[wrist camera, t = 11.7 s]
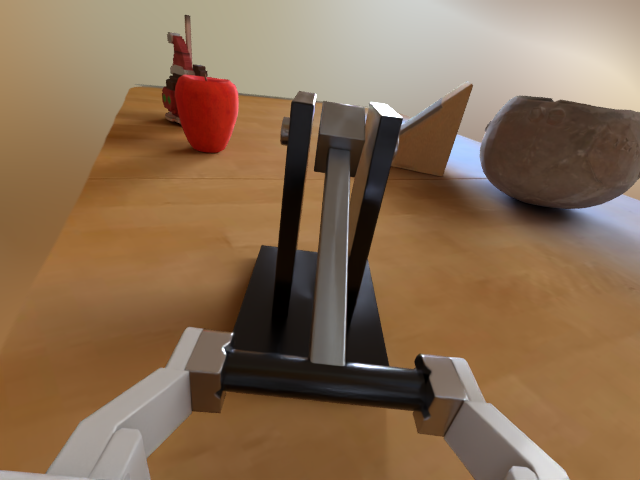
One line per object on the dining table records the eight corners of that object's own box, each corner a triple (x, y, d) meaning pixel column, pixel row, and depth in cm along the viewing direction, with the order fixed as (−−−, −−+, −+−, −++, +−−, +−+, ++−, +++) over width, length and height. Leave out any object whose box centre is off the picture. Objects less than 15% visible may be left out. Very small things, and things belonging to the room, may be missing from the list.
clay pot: (507, 222, 44) (564, 100, 36) (446, 171, 62) (477, 82, 54) (647, 238, 46) (728, 126, 39) (549, 184, 64) (592, 101, 57)
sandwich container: (363, 149, 68) (380, 67, 60) (440, 164, 65) (467, 81, 58) (357, 158, 60) (375, 66, 53) (442, 177, 58) (474, 83, 51)
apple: (232, 142, 58) (233, 74, 53) (242, 158, 51) (244, 81, 46) (177, 140, 54) (172, 66, 49) (179, 156, 48) (173, 73, 42)
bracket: (386, 396, 18) (481, 145, 12) (222, 378, 18) (221, 105, 11) (364, 271, 29) (407, 101, 22) (260, 257, 28) (272, 80, 21)
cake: (227, 128, 66) (227, 21, 57) (181, 130, 60) (173, 11, 51) (201, 116, 72) (198, 18, 64) (157, 116, 66) (147, 8, 57)
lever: (408, 417, 11) (437, 403, 9) (226, 398, 11) (217, 380, 9) (387, 149, 19) (400, 112, 17) (285, 133, 19) (286, 94, 17)
